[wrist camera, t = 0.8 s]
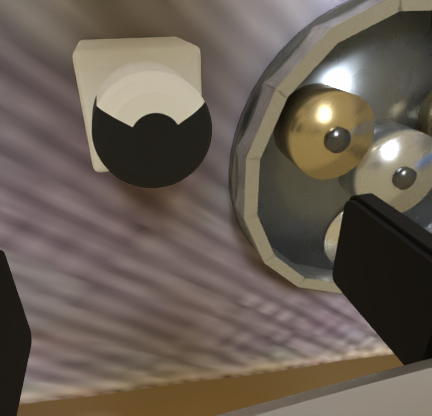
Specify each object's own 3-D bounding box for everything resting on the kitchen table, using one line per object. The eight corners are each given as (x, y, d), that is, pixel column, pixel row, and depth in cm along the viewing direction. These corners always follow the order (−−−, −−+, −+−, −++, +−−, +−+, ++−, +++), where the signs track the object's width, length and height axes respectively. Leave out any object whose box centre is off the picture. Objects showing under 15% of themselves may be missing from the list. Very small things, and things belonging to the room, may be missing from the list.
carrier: (230, -11, 27) (258, -13, 22) (538, -13, 33) (611, -15, 29) (228, 294, 41) (245, 332, 36) (444, 251, 48) (482, 278, 43)
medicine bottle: (184, 130, 31) (226, 193, 21) (94, 138, 29) (93, 212, 19) (178, 35, 27) (226, 56, 17) (77, 39, 26) (63, 64, 16)
